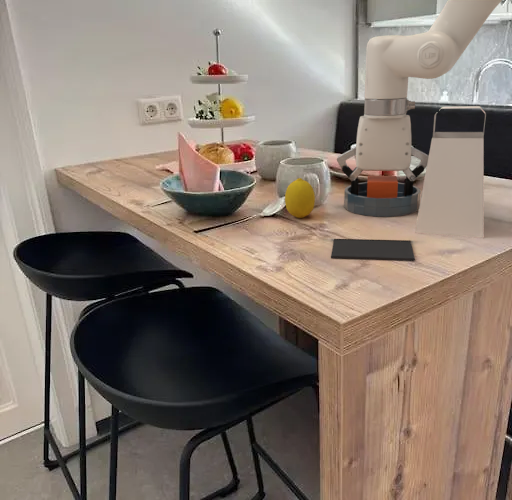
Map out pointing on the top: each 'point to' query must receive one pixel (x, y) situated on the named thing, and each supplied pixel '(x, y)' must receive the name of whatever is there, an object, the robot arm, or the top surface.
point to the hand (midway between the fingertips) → (380, 199)
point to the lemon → (299, 198)
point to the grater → (454, 185)
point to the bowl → (381, 202)
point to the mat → (372, 249)
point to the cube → (382, 186)
